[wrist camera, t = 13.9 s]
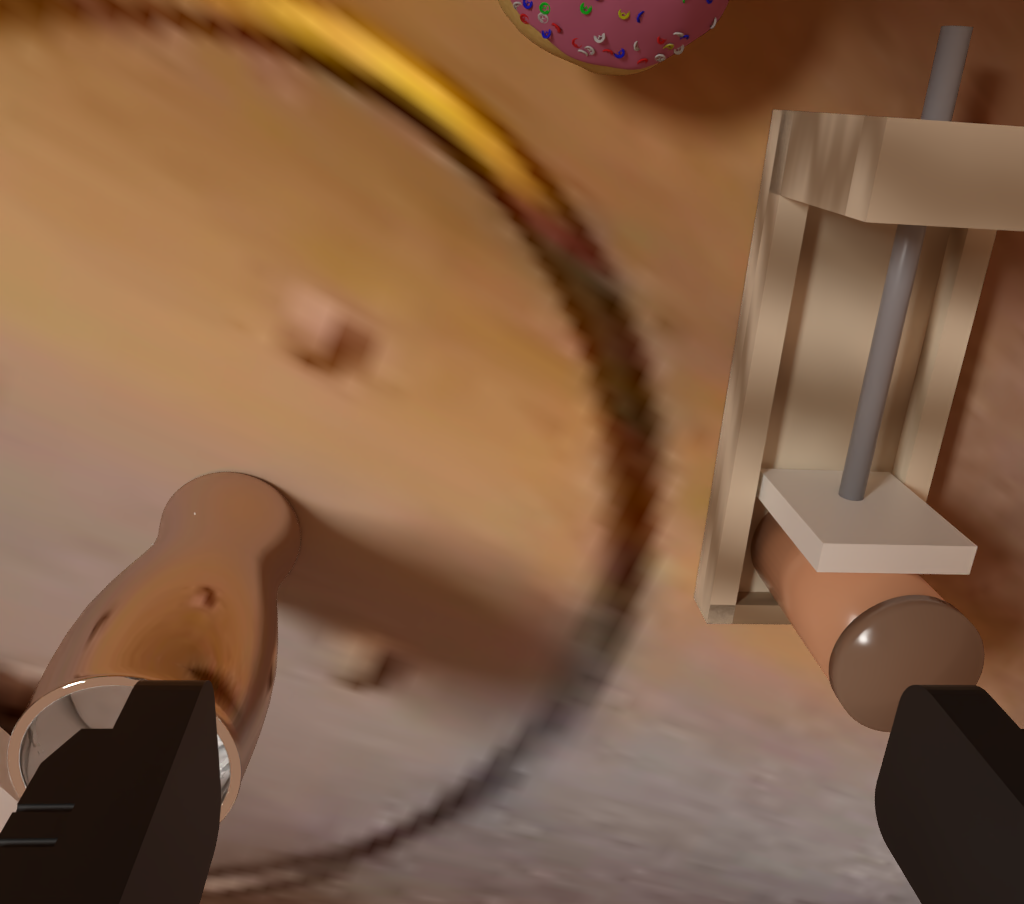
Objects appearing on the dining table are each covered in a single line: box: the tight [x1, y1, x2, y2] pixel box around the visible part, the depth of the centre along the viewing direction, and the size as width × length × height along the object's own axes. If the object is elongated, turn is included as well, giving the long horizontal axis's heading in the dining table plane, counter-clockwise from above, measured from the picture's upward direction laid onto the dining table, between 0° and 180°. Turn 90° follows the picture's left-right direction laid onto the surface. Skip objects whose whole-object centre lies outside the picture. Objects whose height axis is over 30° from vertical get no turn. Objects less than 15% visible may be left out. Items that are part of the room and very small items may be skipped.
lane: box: [694, 110, 1024, 624], centre depth 35 cm, size 22×9×10 cm, turn 176°
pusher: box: [756, 26, 978, 575], centre depth 33 cm, size 19×6×7 cm, turn 176°
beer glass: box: [7, 472, 301, 822], centre depth 33 cm, size 7×7×15 cm
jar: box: [751, 512, 984, 732], centre depth 37 cm, size 5×5×10 cm
